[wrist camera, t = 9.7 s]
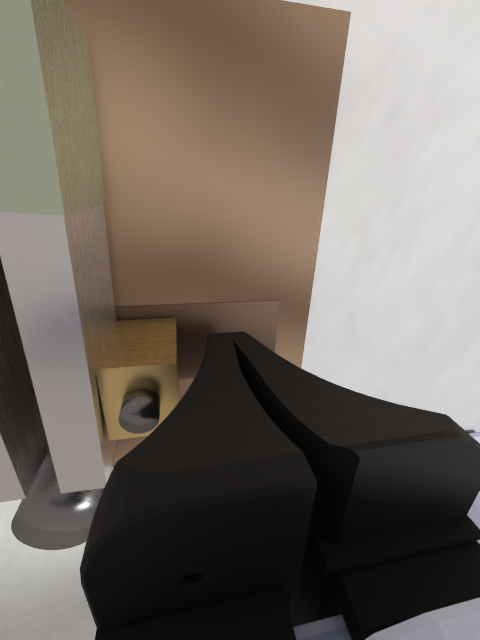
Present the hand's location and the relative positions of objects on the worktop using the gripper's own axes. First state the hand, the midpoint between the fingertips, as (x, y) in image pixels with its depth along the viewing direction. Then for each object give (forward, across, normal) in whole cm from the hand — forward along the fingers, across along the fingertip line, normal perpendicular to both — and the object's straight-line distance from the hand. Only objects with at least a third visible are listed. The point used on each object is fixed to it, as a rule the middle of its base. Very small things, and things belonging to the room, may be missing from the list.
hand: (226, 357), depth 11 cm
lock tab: (+1, +3, 0) cm, 3 cm away
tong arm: (+1, +4, -3) cm, 5 cm away
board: (+2, +2, -2) cm, 4 cm away
